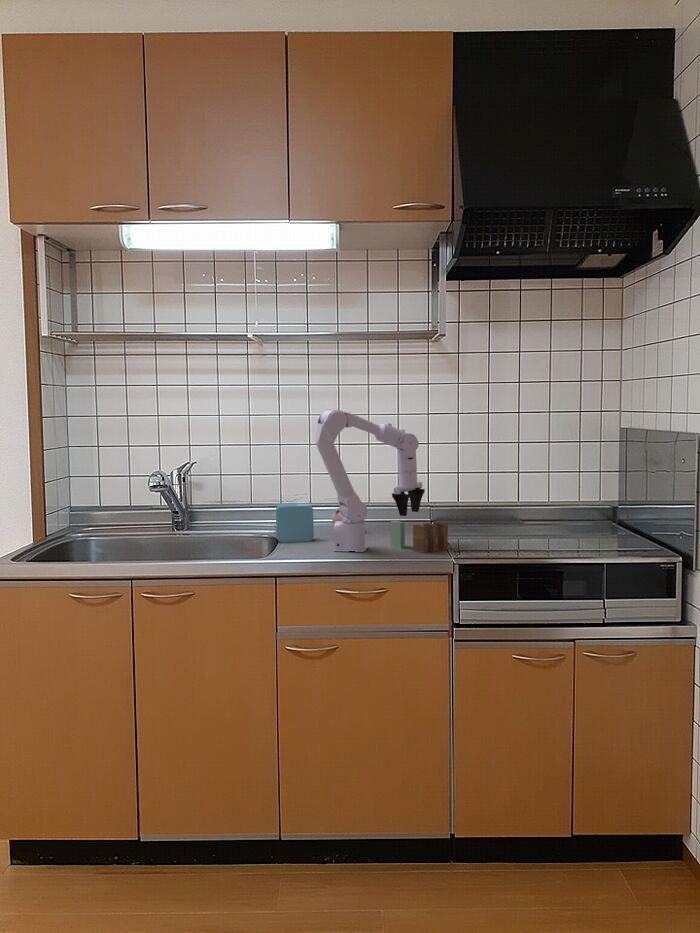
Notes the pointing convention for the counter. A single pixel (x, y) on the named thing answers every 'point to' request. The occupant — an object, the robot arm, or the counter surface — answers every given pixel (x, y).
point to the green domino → (398, 534)
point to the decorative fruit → (336, 516)
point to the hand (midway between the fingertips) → (409, 513)
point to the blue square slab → (294, 522)
